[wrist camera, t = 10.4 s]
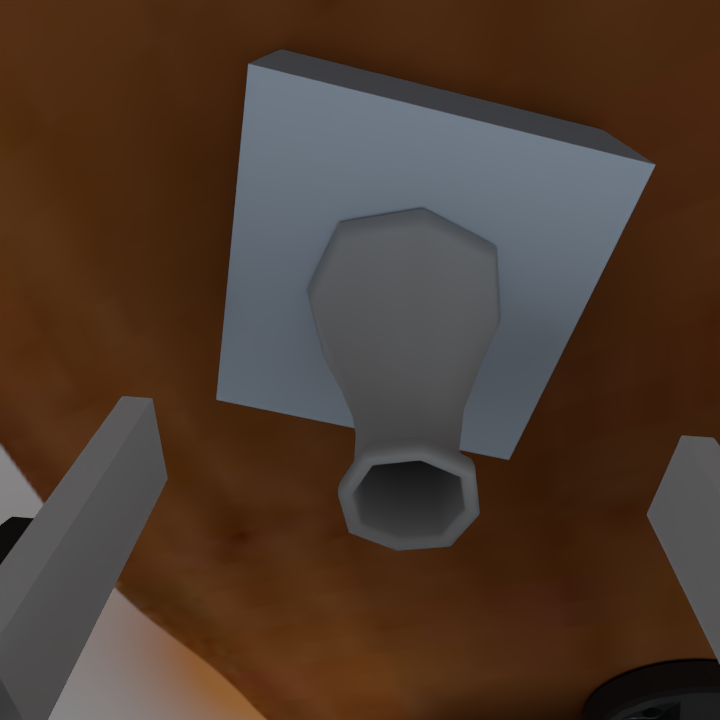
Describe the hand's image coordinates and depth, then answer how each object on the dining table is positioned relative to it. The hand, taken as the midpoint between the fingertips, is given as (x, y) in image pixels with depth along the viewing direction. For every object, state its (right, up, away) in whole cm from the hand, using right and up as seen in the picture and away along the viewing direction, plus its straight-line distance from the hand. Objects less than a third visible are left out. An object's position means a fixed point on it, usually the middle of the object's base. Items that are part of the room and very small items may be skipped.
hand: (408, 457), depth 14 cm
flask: (0, +5, +7) cm, 8 cm away
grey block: (+1, +8, +11) cm, 14 cm away
